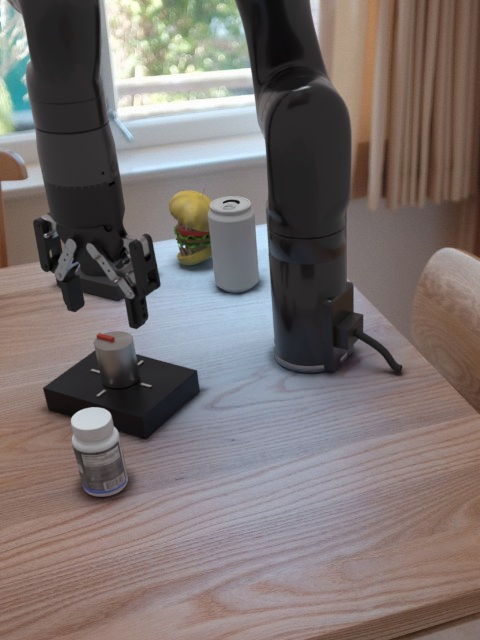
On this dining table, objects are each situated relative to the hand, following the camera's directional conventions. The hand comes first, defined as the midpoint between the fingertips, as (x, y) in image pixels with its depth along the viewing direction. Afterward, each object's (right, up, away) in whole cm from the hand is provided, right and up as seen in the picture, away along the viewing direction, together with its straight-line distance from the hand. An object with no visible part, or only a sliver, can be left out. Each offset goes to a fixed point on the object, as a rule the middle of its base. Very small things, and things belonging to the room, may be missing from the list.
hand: (107, 317), depth 101 cm
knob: (0, -6, +5) cm, 8 cm away
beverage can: (+11, +11, +30) cm, 34 cm away
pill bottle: (+1, -19, -5) cm, 20 cm away
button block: (-8, +12, +32) cm, 35 cm away
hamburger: (+5, +16, +36) cm, 40 cm away
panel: (0, -8, +7) cm, 11 cm away
